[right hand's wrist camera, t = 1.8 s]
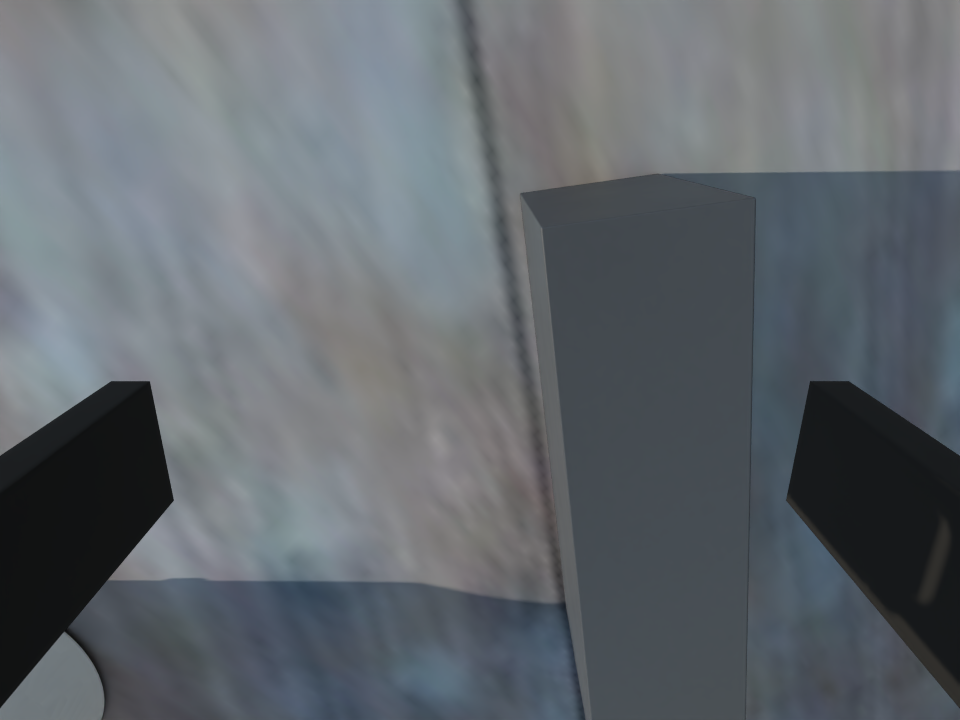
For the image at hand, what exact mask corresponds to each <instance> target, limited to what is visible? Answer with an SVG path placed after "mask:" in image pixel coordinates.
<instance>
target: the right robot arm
mask: <svg viewBox="0 0 960 720" xmlns="http://www.w3.org/2000/svg"><path fill="white" fill-rule="evenodd" d="M173 501H174V499H173V494H172V489H171V484H170V479H169V474H168V469H167V464H166V459H165V455H164V450H163V445H162V440H161V435H160V430H159V425H158V420H157V415H156V410H155V405H154V400H153V395H152V390H151V385H150V381H111V382H109V383H108V384H107V385H105V386H104V387H102V388H101V389H99V390H98V391H96V392H95V393H93V394H92V395H90V396H89V397H87V398H86V399H84V400H83V401H81V402H80V403H78V404H77V405H75V406H74V407H72V408H71V409H69V410H68V411H66V412H65V413H63V414H62V415H60V416H59V417H57V418H56V419H54V420H53V421H51V422H50V423H48V424H47V425H45V426H44V427H42V428H41V429H39V430H38V431H37V432H35V433H34V434H32V435H31V436H29V437H28V438H26V439H25V440H23V441H22V442H20V443H19V444H17V445H16V446H14V447H13V448H11V449H10V450H8V451H7V452H5V453H4V454H2V455H1V456H0V708H1V707H2V706H3V704H4V703H5V702H6V701H7V700H8V698H9V697H10V696H11V695H12V694H13V692H14V691H15V690H16V689H17V688H18V686H19V685H20V684H21V683H22V682H23V680H24V679H25V678H26V677H27V676H28V674H29V673H30V672H31V671H32V670H33V668H34V667H35V666H36V665H37V664H38V662H39V661H40V660H41V659H42V658H43V657H44V655H45V654H46V653H47V652H48V651H49V649H50V648H51V647H52V646H53V645H54V643H55V642H56V641H57V640H58V639H59V637H60V636H61V635H62V634H63V633H64V631H65V630H66V629H67V628H68V627H69V625H70V624H71V623H72V622H73V621H74V619H75V618H76V617H77V616H78V615H79V613H80V612H81V611H82V610H83V609H84V607H85V606H86V605H87V604H88V603H89V601H90V600H91V599H92V598H93V597H94V595H95V594H96V593H97V592H98V591H99V589H100V588H101V587H102V586H103V585H104V583H105V582H106V581H107V580H108V579H109V577H110V576H111V575H112V574H113V573H114V571H115V570H116V569H117V568H118V567H119V565H120V564H121V563H122V562H123V561H124V559H125V558H126V557H127V556H128V555H129V554H130V552H131V551H132V550H133V549H134V548H135V546H136V545H137V544H138V543H139V542H140V540H141V539H142V538H143V537H144V536H145V534H146V533H147V532H148V531H149V530H150V528H151V527H152V526H153V525H154V524H155V522H156V521H157V520H158V519H159V518H160V516H161V515H162V514H163V513H164V512H165V510H166V509H167V508H168V507H169V506H170V504H171V503H172V502H173ZM786 501H787V502H788V503H789V504H790V506H791V507H792V508H793V509H794V510H795V512H796V513H797V514H798V515H799V516H800V518H801V519H802V520H803V521H804V522H805V524H806V525H807V526H808V527H809V528H810V530H811V531H812V532H813V533H814V534H815V536H816V537H817V538H818V539H819V540H820V542H821V543H822V544H823V545H824V546H825V548H826V549H827V550H828V551H829V552H830V554H831V555H832V556H833V557H834V558H835V559H836V561H837V562H838V563H839V564H840V565H841V567H842V568H843V569H844V570H845V571H846V573H847V574H848V575H849V576H850V577H851V579H852V580H853V581H854V582H855V583H856V585H857V586H858V587H859V588H860V589H861V591H862V592H863V593H864V594H865V595H866V597H867V598H868V599H869V600H870V601H871V603H872V604H873V605H874V606H875V607H876V609H877V610H878V611H879V612H880V613H881V615H882V616H883V617H884V618H885V619H886V621H887V622H888V623H889V624H890V625H891V627H892V628H893V629H894V630H895V631H896V633H897V634H898V635H899V636H900V637H901V639H902V640H903V641H904V642H905V643H906V645H907V646H908V647H909V648H910V649H911V651H912V652H913V653H914V654H915V655H916V657H917V658H918V659H919V660H920V661H921V662H922V664H923V665H924V666H925V667H926V668H927V670H928V671H929V672H930V673H931V674H932V676H933V677H934V678H935V679H936V680H937V682H938V683H939V684H940V685H941V686H942V688H943V689H944V690H945V691H946V692H947V694H948V695H949V696H950V697H951V698H952V700H953V701H954V702H955V703H956V704H957V706H958V707H959V708H960V456H959V455H958V454H956V453H955V452H953V451H952V450H950V449H949V448H947V447H946V446H944V445H943V444H941V443H940V442H938V441H937V440H935V439H934V438H932V437H931V436H929V435H928V434H926V433H925V432H923V431H922V430H921V429H919V428H918V427H916V426H915V425H913V424H912V423H910V422H909V421H907V420H906V419H904V418H903V417H901V416H900V415H898V414H897V413H895V412H894V411H892V410H891V409H889V408H888V407H886V406H885V405H883V404H882V403H880V402H879V401H877V400H876V399H874V398H873V397H871V396H870V395H868V394H867V393H865V392H864V391H862V390H861V389H859V388H858V387H856V386H855V385H853V384H852V383H851V382H849V381H810V385H809V390H808V395H807V400H806V405H805V410H804V415H803V420H802V425H801V430H800V435H799V440H798V445H797V450H796V455H795V459H794V464H793V469H792V474H791V479H790V484H789V489H788V494H787V499H786Z"/></svg>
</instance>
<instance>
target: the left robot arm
mask: <svg viewBox="0 0 960 720" xmlns="http://www.w3.org/2000/svg"><path fill="white" fill-rule="evenodd" d="M104 702H105V699H104V691H103V686H102V682H101V680H100V677H99V674H98V672H97V670H96V668H95V666H94V665H93V663H92V661H91V660H90V658H89V657H88V656H87V654H86V653H85V652H84V650H83V649H82V648H81V647H80V646H79V645H78V644H77V643H76V642H75V641H74V640H73V639H72V638H71V637H70V636H69V635H68V634H67V633H66V632H64V633H63V634H62V635H61V636H60V637H59V639H58V640H57V641H56V642H55V643H54V645H53V646H52V647H51V648H50V649H49V651H48V652H47V653H46V654H45V655H44V657H43V658H42V659H41V660H40V661H39V662H38V664H37V665H36V666H35V667H34V668H33V670H32V671H31V672H30V673H29V674H28V676H27V677H26V678H25V679H24V680H23V682H22V683H21V684H20V685H19V686H18V688H17V689H16V690H15V691H14V692H13V694H12V695H11V696H10V697H9V698H8V700H7V701H6V702H5V703H4V704H3V706H2V707H1V708H0V720H101V719H102V716H103V712H104Z"/></svg>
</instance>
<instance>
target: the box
mask: <svg viewBox="0 0 960 720" xmlns="http://www.w3.org/2000/svg"><path fill="white" fill-rule="evenodd" d="M520 199H521V208H522V217H523V226H524V235H525V244H526V253H527V262H528V271H529V280H530V289H531V298H532V307H533V316H534V325H535V334H536V342H537V351H538V360H539V369H540V378H541V387H542V396H543V405H544V414H545V423H546V432H547V441H548V450H549V459H550V468H551V477H552V486H553V495H554V504H555V513H556V522H557V531H558V540H559V549H560V557H561V566H562V575H563V584H564V593H565V602H566V611H567V618H568V623H569V629H570V635H571V640H572V646H573V652H574V657H575V663H576V668H577V674H578V680H579V685H580V691H581V697H582V702H583V708H584V714H585V719H586V720H746V669H747V618H748V568H749V517H750V466H751V415H752V364H753V314H754V263H755V212H756V199H755V198H754V197H750V196H746V195H742V194H738V193H733V192H729V191H725V190H721V189H717V188H713V187H709V186H705V185H701V184H697V183H693V182H689V181H685V180H681V179H677V178H673V177H669V176H665V175H661V174H653V175H646V176H639V177H632V178H625V179H618V180H611V181H604V182H597V183H590V184H583V185H575V186H568V187H561V188H554V189H547V190H540V191H533V192H526V193H521V194H520Z"/></svg>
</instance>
